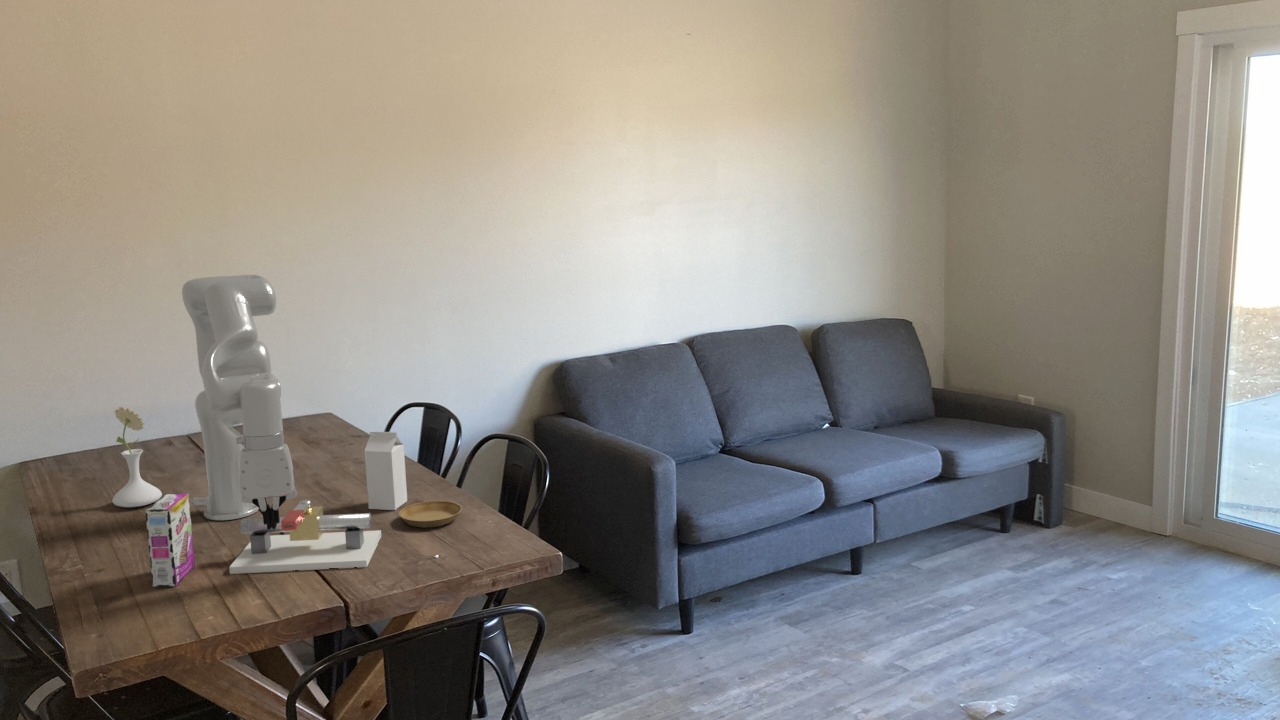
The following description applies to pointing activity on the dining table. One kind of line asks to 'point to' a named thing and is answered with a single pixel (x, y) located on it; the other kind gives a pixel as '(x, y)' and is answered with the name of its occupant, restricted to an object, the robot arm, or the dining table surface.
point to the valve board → (307, 554)
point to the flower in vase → (133, 468)
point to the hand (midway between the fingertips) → (272, 526)
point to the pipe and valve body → (309, 528)
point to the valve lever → (295, 516)
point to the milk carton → (385, 471)
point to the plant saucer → (430, 513)
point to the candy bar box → (170, 540)
